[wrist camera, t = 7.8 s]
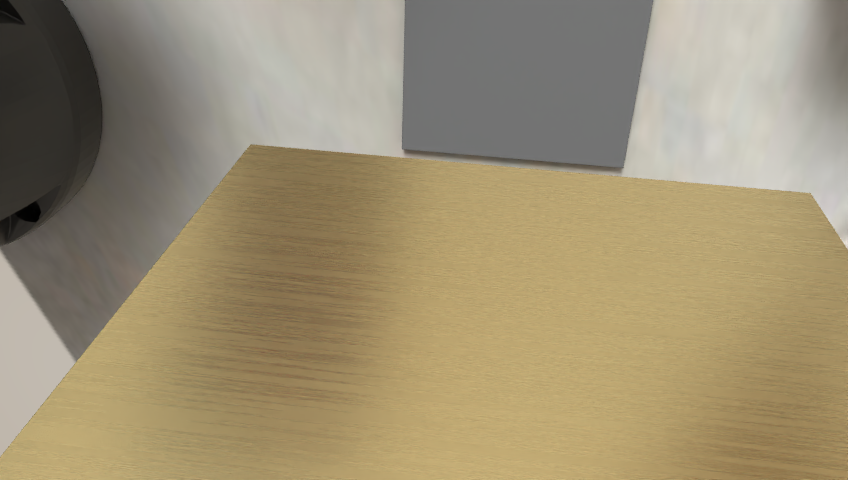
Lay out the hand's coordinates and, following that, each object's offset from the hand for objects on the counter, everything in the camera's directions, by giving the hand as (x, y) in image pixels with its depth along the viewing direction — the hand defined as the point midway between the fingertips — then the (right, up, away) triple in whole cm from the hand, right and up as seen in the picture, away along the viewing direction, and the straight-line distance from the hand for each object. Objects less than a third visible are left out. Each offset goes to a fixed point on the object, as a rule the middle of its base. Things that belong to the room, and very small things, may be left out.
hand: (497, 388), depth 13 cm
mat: (+2, +10, +17) cm, 20 cm away
